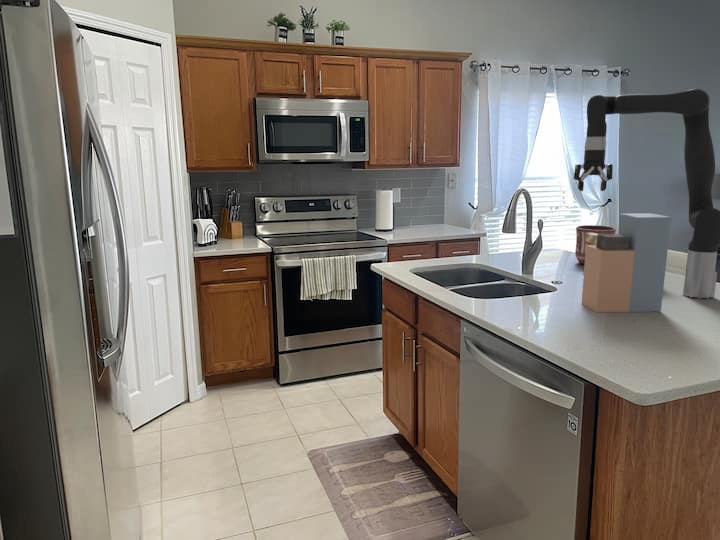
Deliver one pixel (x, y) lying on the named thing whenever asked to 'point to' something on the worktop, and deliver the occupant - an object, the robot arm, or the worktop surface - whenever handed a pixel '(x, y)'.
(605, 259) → the step stand
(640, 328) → the worktop surface
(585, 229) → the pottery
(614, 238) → the mallet
